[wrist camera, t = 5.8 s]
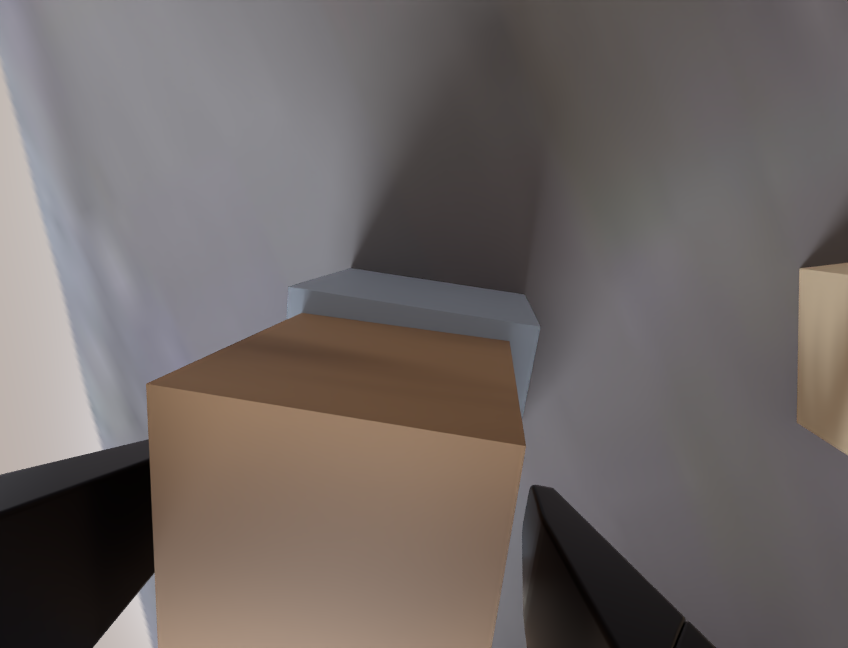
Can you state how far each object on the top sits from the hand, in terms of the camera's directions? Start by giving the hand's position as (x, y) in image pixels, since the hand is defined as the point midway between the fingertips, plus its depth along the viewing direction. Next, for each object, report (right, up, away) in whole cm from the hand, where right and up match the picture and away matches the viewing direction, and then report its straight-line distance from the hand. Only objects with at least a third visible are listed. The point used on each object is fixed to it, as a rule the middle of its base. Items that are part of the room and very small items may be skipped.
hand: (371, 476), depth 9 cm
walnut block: (0, 0, +2) cm, 2 cm away
